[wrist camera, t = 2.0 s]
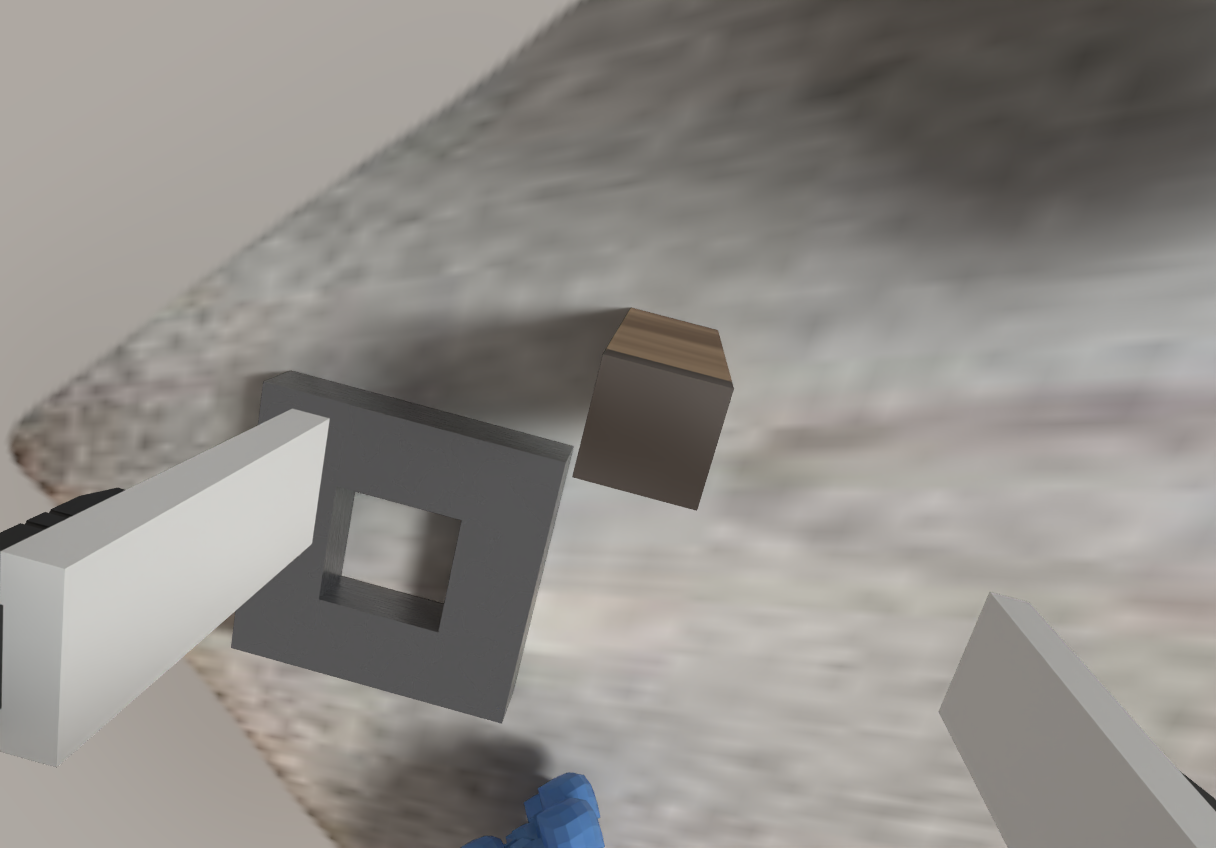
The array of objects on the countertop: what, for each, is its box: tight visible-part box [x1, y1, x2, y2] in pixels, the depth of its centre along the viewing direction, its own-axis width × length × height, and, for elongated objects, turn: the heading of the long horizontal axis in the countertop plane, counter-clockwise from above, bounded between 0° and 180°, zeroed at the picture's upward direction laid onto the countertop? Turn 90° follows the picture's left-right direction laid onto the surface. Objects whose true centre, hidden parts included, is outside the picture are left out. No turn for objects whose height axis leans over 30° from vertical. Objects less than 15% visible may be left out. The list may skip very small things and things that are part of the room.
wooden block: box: [572, 308, 734, 511], centre depth 29 cm, size 4×4×12 cm
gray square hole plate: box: [231, 371, 574, 723], centre depth 37 cm, size 14×14×2 cm
